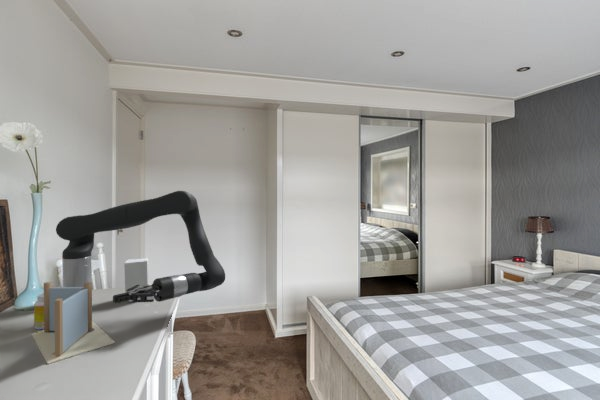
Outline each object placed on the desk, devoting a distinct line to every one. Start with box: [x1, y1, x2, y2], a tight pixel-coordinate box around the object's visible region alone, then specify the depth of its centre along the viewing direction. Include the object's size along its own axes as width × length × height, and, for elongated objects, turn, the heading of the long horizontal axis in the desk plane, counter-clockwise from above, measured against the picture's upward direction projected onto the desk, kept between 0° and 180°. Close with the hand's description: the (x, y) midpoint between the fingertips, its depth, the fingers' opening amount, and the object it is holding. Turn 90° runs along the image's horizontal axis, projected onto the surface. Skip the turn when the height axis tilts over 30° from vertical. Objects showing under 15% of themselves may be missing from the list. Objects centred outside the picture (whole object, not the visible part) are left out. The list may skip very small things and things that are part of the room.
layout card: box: [31, 320, 115, 365], centre depth 91 cm, size 23×15×1 cm, turn 48°
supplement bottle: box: [33, 292, 44, 330], centre depth 99 cm, size 6×6×10 cm
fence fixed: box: [43, 281, 93, 333], centre depth 95 cm, size 14×2×15 cm, turn 94°
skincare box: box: [123, 257, 150, 302], centre depth 125 cm, size 8×7×16 cm
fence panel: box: [55, 289, 88, 356], centre depth 87 cm, size 14×1×14 cm, turn 9°
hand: (113, 299), depth 93 cm, fingers closed
